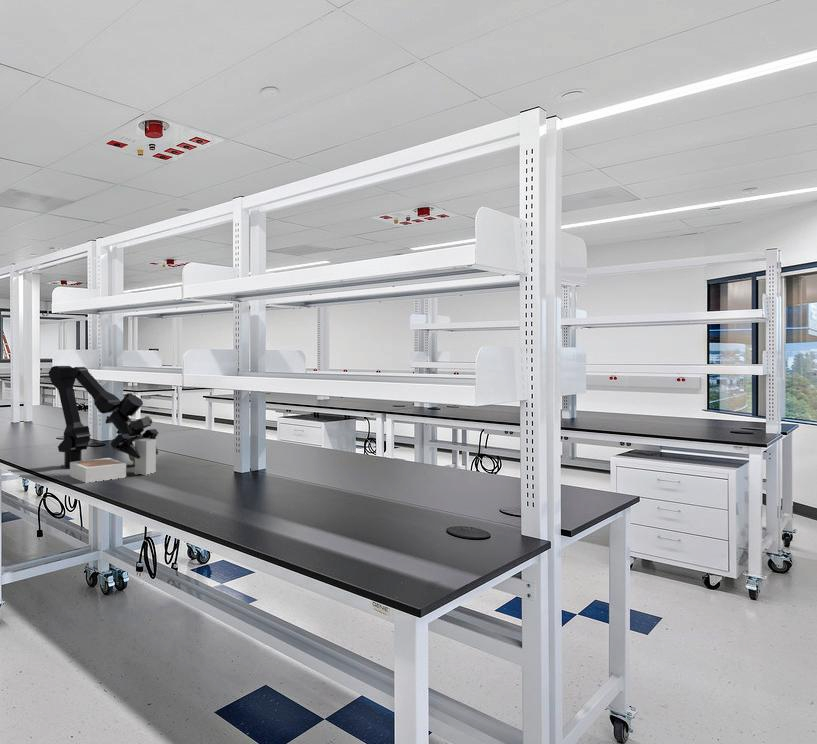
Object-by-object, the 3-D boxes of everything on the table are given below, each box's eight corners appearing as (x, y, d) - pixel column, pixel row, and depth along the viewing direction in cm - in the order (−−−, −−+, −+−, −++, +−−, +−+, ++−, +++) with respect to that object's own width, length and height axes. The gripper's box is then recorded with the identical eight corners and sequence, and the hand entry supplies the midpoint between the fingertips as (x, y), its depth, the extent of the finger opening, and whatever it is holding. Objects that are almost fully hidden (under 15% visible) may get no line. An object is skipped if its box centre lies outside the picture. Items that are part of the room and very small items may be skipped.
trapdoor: (76, 473, 204) (76, 462, 204) (106, 469, 211) (106, 458, 211) (89, 478, 196) (89, 467, 196) (119, 474, 203) (119, 463, 203)
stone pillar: (134, 474, 209) (135, 440, 209) (144, 471, 214) (144, 438, 214) (146, 475, 208) (146, 441, 208) (155, 472, 213) (156, 439, 213)
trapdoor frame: (69, 476, 204) (69, 462, 204) (109, 471, 214) (109, 457, 214) (85, 483, 194) (85, 468, 194) (126, 477, 204) (126, 463, 203)
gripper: (117, 411, 203) (143, 445, 200) (154, 407, 221) (178, 438, 218) (99, 432, 205) (124, 465, 202) (137, 427, 223) (161, 457, 220)
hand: (148, 455), depth 211 cm, fingers open, 9 cm apart
